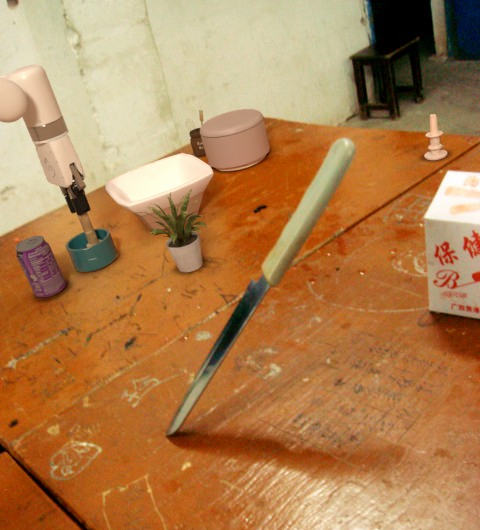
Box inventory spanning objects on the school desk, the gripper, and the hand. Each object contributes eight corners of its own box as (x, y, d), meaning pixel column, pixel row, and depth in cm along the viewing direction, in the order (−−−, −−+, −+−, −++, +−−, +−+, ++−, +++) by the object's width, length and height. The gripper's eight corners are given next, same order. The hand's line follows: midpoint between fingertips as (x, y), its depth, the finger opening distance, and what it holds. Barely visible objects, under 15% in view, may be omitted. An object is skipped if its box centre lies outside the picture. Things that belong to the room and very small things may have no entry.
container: (284, 148, 180) (275, 107, 173) (244, 175, 170) (233, 132, 164) (236, 146, 191) (227, 107, 185) (196, 171, 181) (185, 131, 175)
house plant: (158, 295, 126) (131, 221, 118) (148, 266, 138) (123, 197, 129) (226, 271, 128) (204, 196, 119) (210, 245, 139) (189, 175, 131)
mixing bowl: (89, 278, 140) (79, 254, 137) (67, 267, 147) (57, 245, 144) (126, 256, 145) (118, 233, 142) (104, 247, 152) (95, 225, 149)
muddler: (93, 252, 143) (68, 192, 135) (85, 249, 145) (60, 190, 137) (106, 245, 144) (82, 185, 137) (98, 242, 147) (75, 183, 139)
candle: (437, 149, 153) (434, 106, 148) (452, 154, 149) (449, 110, 143) (419, 157, 152) (416, 114, 146) (433, 162, 148) (430, 118, 142)
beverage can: (44, 284, 143) (22, 236, 137) (72, 280, 141) (51, 232, 135) (30, 301, 137) (6, 253, 131) (59, 298, 135) (36, 249, 129)
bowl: (139, 251, 145) (123, 209, 140) (113, 220, 165) (98, 182, 160) (232, 213, 151) (220, 171, 145) (195, 187, 171) (184, 149, 165)
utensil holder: (190, 155, 194) (178, 117, 188) (205, 147, 197) (194, 109, 191) (202, 157, 190) (191, 118, 184) (217, 149, 193) (207, 110, 187)
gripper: (16, 134, 134) (50, 213, 144) (49, 140, 123) (84, 225, 133) (46, 121, 138) (78, 199, 147) (82, 125, 126) (113, 210, 136)
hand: (81, 211), depth 140 cm, fingers closed on muddler, 2 cm apart
